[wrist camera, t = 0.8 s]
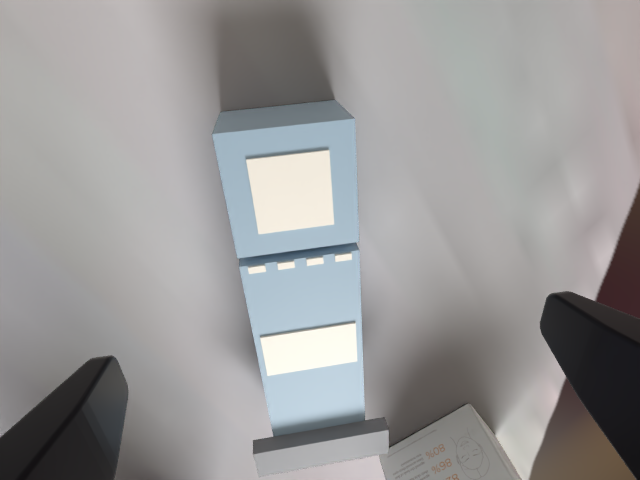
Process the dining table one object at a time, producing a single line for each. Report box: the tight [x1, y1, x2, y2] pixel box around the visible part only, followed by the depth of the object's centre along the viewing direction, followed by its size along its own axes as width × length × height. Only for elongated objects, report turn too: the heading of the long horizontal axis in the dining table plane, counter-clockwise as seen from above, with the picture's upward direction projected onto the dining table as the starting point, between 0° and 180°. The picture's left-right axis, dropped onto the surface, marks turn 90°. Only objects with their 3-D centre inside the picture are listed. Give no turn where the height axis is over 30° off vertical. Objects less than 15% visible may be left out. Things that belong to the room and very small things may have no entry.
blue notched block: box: [239, 242, 389, 477], centre depth 21 cm, size 7×13×5 cm, turn 4°
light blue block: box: [212, 100, 359, 259], centre depth 17 cm, size 5×5×4 cm
